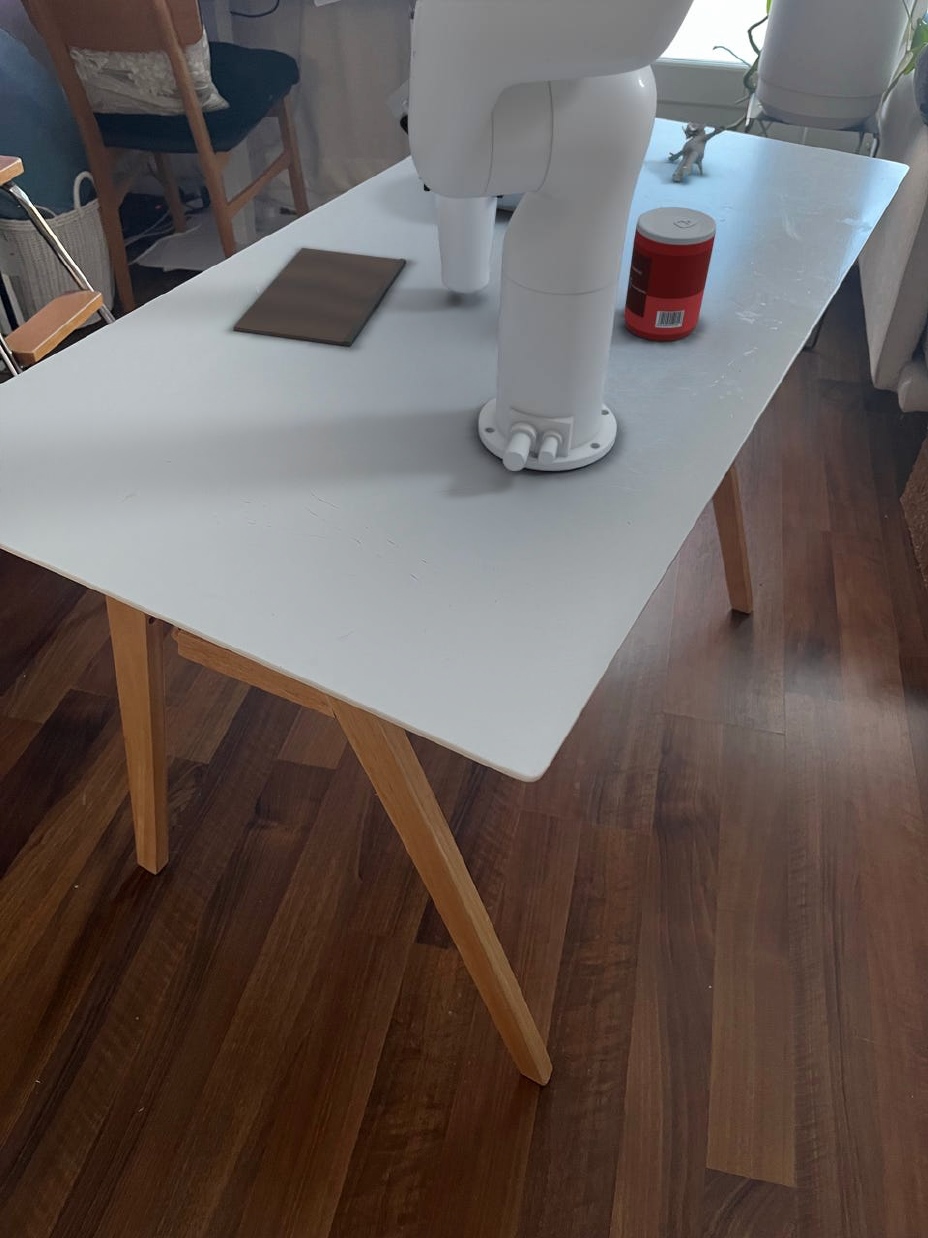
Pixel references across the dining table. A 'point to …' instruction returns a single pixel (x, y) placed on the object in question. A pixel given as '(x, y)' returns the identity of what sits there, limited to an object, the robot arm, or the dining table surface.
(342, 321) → the desk mat
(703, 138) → the grey creature figurine
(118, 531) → the dining table surface
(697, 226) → the canned food
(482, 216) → the drinking glass
